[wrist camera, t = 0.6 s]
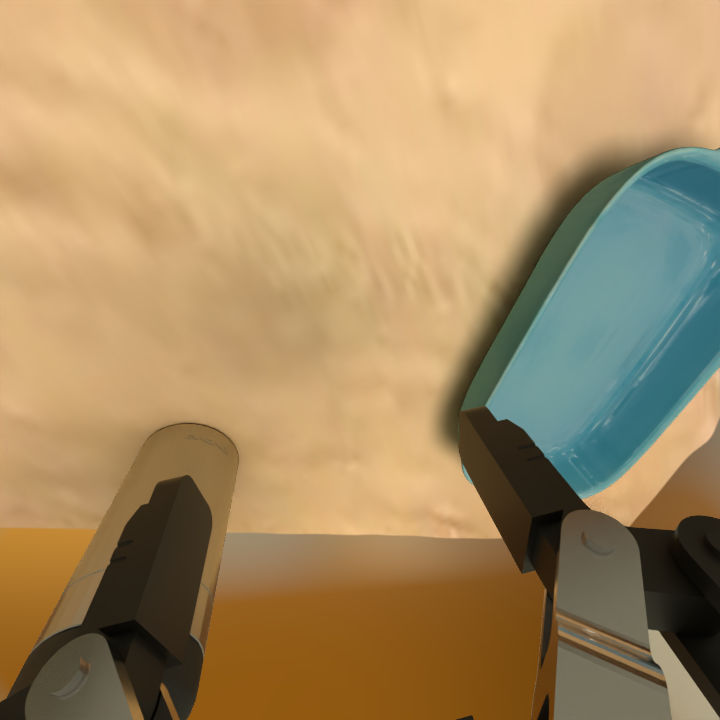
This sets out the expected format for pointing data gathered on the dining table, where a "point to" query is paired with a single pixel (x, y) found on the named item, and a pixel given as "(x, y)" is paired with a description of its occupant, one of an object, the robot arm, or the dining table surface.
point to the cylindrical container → (679, 683)
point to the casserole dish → (614, 321)
